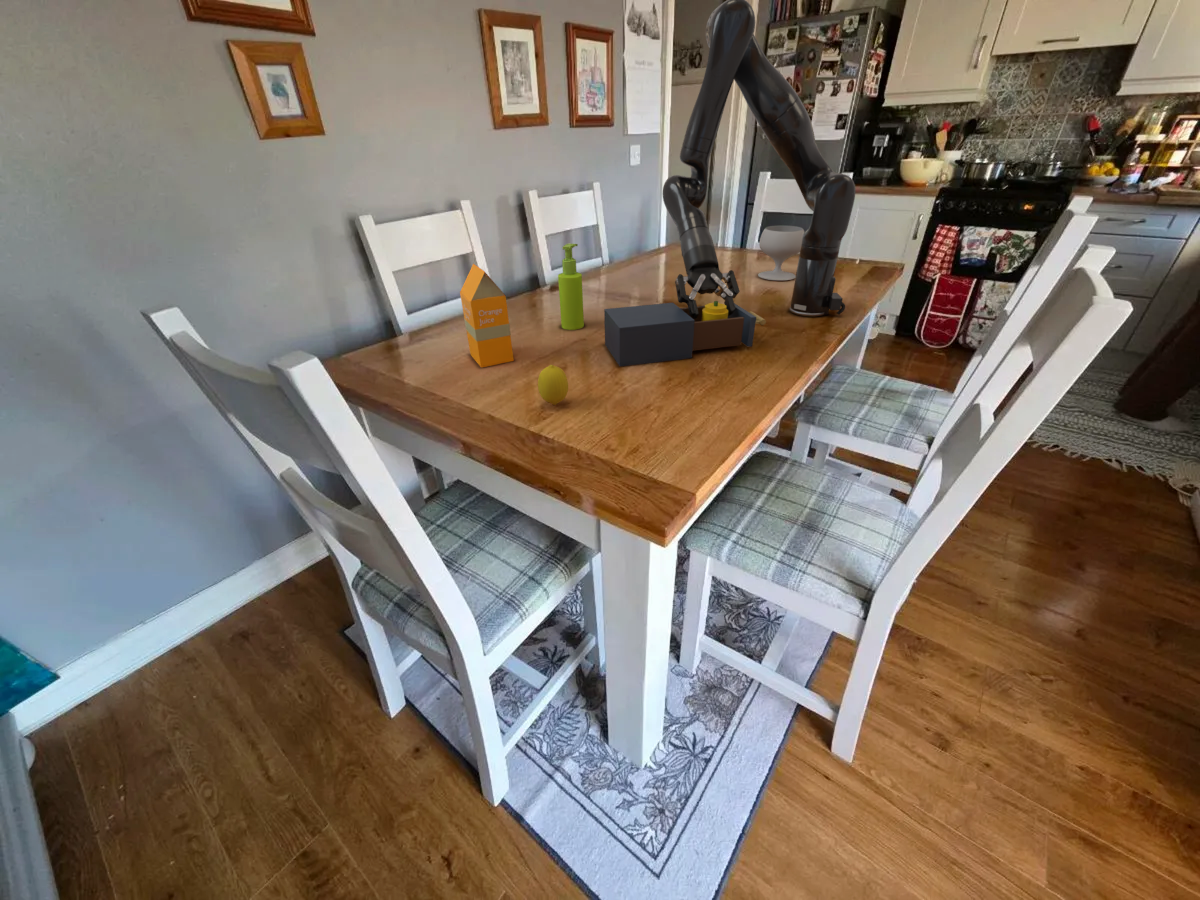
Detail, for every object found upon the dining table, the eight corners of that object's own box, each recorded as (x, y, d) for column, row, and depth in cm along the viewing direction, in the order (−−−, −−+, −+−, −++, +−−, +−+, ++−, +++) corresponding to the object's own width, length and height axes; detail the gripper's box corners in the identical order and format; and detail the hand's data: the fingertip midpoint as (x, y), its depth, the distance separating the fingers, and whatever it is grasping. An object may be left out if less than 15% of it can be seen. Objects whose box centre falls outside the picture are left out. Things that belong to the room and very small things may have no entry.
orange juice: (480, 367, 112) (465, 273, 101) (469, 354, 119) (454, 265, 108) (514, 360, 115) (503, 268, 104) (502, 348, 122) (490, 260, 111)
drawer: (744, 327, 127) (748, 299, 123) (769, 344, 117) (774, 315, 113) (669, 335, 124) (670, 307, 120) (687, 353, 113) (689, 323, 110)
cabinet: (671, 337, 125) (672, 302, 120) (691, 358, 114) (694, 320, 109) (604, 344, 122) (604, 308, 117) (619, 366, 111) (619, 327, 106)
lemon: (540, 399, 98) (536, 360, 94) (568, 397, 99) (566, 358, 94) (539, 412, 94) (535, 372, 89) (569, 410, 94) (567, 370, 90)
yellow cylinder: (724, 331, 121) (728, 297, 117) (726, 340, 117) (730, 305, 112) (699, 331, 122) (702, 297, 118) (700, 339, 117) (703, 305, 113)
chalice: (756, 281, 166) (763, 232, 158) (753, 271, 178) (759, 224, 170) (801, 282, 164) (811, 232, 156) (795, 272, 175) (803, 224, 167)
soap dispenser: (588, 322, 136) (585, 242, 125) (579, 330, 131) (575, 248, 120) (568, 320, 138) (563, 241, 127) (558, 328, 132) (552, 247, 122)
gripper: (674, 245, 116) (689, 310, 112) (732, 241, 118) (749, 304, 115) (665, 264, 123) (679, 326, 119) (720, 260, 125) (736, 320, 122)
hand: (713, 315), depth 117 cm, fingers open, 8 cm apart
